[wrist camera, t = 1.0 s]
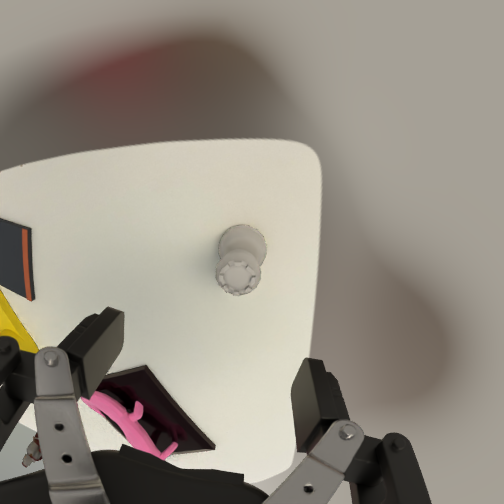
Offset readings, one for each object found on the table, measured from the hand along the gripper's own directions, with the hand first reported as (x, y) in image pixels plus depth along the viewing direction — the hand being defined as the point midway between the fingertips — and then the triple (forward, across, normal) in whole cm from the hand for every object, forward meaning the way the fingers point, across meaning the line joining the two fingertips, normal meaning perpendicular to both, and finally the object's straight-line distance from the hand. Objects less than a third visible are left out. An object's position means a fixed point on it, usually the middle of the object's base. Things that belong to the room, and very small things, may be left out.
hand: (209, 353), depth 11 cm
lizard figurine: (+17, +7, +30) cm, 35 cm away
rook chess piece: (+17, -1, 0) cm, 17 cm away
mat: (+16, +30, +9) cm, 36 cm away
